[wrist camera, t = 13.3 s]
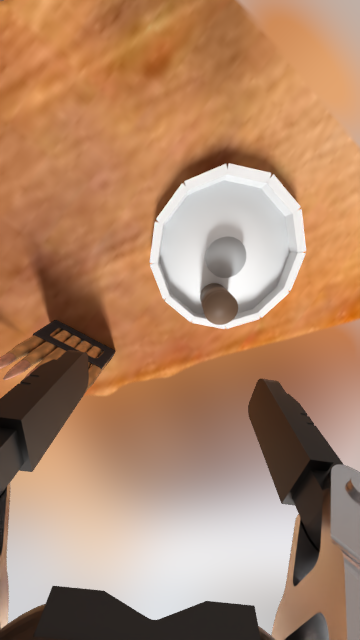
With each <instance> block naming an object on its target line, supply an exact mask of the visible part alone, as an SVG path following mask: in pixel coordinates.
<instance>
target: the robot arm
mask: <svg viewBox="0 0 360 640" xmlns="http://www.w3.org/2000/svg"><path fill="white" fill-rule="evenodd" d="M0 1H3V0H0ZM88 382H89V368H88V354H87V353H86V352H80V351H74V350H68V351H66V352H65V353H64V354H63V355H62V356H61V357H59V358H58V359H57V360H55V359H53V360H51V361H48V362H46V363H44V364H42V365H40V366H39V367H38V368H36V369H35V370H34V371H33V372H32V373H31V374H30V375H29V376H27V377H26V378H25V379H23V380H22V381H21V383H20V384H17V385H16V386H15V387H14V388H13V389H11V390H10V391H9V392H8V393H7V394H6V395H4V396H3V397H2V398H1V399H0V640H360V472H358V471H357V470H355V469H353V468H351V467H349V466H346V465H343V463H342V462H341V461H340V459H339V458H338V456H337V455H336V453H335V452H334V451H333V449H332V448H331V447H330V445H329V444H328V442H327V441H326V440H325V438H324V437H323V435H322V434H321V433H320V431H319V430H318V428H317V427H316V426H314V423H313V422H312V421H311V419H310V417H308V416H307V413H306V412H305V410H304V409H303V408H302V407H301V405H300V404H299V403H298V402H297V401H296V400H295V399H294V398H293V397H291V396H290V395H289V394H287V393H286V392H285V390H284V389H283V388H282V386H281V385H280V383H279V382H278V381H274V380H267V379H259V380H258V382H257V384H256V387H255V389H254V392H253V394H252V397H251V400H250V402H249V406H248V413H249V417H250V420H251V423H252V426H253V428H254V431H255V434H256V436H257V439H258V441H259V444H260V447H261V450H262V452H263V455H264V458H265V460H266V463H267V465H268V468H269V471H270V474H271V476H272V479H273V481H274V484H275V487H276V490H277V492H278V495H279V498H280V500H281V503H282V504H288V505H295V506H296V508H297V510H298V513H299V514H298V515H297V517H296V520H295V527H294V533H293V540H292V547H291V554H290V560H289V567H288V573H287V581H286V586H285V590H284V594H283V597H282V599H281V601H280V604H279V607H278V609H277V613H276V616H275V620H274V624H273V629H272V635H270V634H268V633H267V632H266V631H265V630H263V629H262V628H261V627H259V626H258V623H257V618H256V612H255V607H254V606H251V605H241V604H230V603H221V602H210V601H205V602H203V603H200V604H198V605H195V606H192V607H190V608H188V609H185V610H182V611H180V612H177V613H174V614H172V615H169V616H167V617H164V618H162V619H159V620H151V619H149V618H147V617H145V616H143V615H142V614H140V613H139V612H137V611H135V610H134V609H132V608H131V607H129V606H127V605H126V604H124V603H122V602H121V601H119V600H118V599H116V598H115V597H113V596H111V595H110V594H108V593H106V592H105V591H100V590H99V591H98V590H90V589H80V588H69V587H59V586H53V587H52V589H51V592H50V595H49V597H48V600H47V602H46V604H44V605H41V606H38V607H36V608H34V609H32V610H30V611H28V612H26V613H24V614H22V615H21V616H19V617H18V618H16V619H14V620H13V621H11V622H10V623H8V604H9V585H8V573H7V540H8V522H9V505H10V489H11V485H10V482H11V480H12V479H13V478H14V476H15V475H16V473H17V472H18V471H19V470H20V471H29V472H32V471H33V470H34V468H35V467H36V465H37V464H38V463H39V461H40V460H41V458H42V456H43V455H44V453H45V452H46V450H47V449H48V448H49V446H50V445H51V443H52V442H53V440H54V439H55V437H56V435H57V434H58V433H59V431H60V430H61V428H62V427H63V425H64V423H65V422H66V420H67V419H68V417H69V416H70V414H71V413H72V412H73V410H74V409H75V407H76V406H77V404H78V403H79V401H80V400H81V398H82V397H83V395H84V394H85V392H86V389H87V387H88Z"/></svg>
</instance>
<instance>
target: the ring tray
mask: <svg viewBox="0 0 360 640" xmlns="http://www.w3.org/2000/svg"><path fill="white" fill-rule="evenodd" d="M270 176H271V173H270V172H265V171H261V170H257V169H252V168H248V167H243V166H239V165H235V164H230V163H229V164H228V166H227V165H226V164H224V165H221V166H219V167H217V168H214V169H212V170H209V171H207V172H205V173H202V174H200V175H198V176H195V177H193V178H191V179H188V180H186V181H184V184H183V183H182V184H181V185H180V187H179V188H178V189H177V191H176V192H175V193H174V195H173V196H172V198H171V199H170V200H169V202H168V203H167V205H166V206H165V207H164V209H163V210H162V211H161V213H160V214H159V216H158V217H157V218H156V220H157V221H158V222H155V225H154V233H153V240H152V248H151V256H150V263H153V264H151V265H150V266H151V269H152V271H153V274H154V277H155V279H156V282H157V284H158V287H159V290H160V292H161V295H162V297H163V299H165V300H164V301H165V302H167V303H168V304H169V305H170V306H171V307H173V308H174V309H175V310H176V311H177V312H179V313H180V314H181V315H182V316H183V317H185V318H186V319H187V320H188V321H190V322H191V321H192V323H195V324H200V325H206V326H211V327H216V328H222V329H225V327H226V329H228V328H231V327H234V326H238V325H241V324H244V323H248V322H251V321H255V320H258V319H260V318H259V316H260V317H261V318H262V317H263V316H264V315H265V314H266V313H267V312H269V311H270V310H271V309H272V308H273V307H274V306H275V305H276V304H277V303H278V302H280V301H281V300H282V299H283V298H284V297H285V296H286V295H287V294H288V293H289V292H288V291H287V290H289V291H291V289H292V286H293V284H294V281H295V279H296V276H297V274H298V271H299V269H300V266H301V264H302V262H303V259H304V257H305V254H306V253H302V252H304V251H306V245H305V235H304V226H303V217H302V209H300V210H298V209H299V208H300V205H299V204H298V203H297V202H296V201H295V199H294V198H293V197H292V196H291V195H290V193H289V192H288V191H287V190H286V189H285V187H284V186H283V185H282V184H281V183H280V181H279V180H278V179H277V178H276V177H275V175H274V174H273V175H272V176H271V177H270ZM211 283H218V284H221V285H222V286H224V287H225V288H226V289H227V291H228V292H229V293H230V294H231V295H232V296H233V297H234V298H235V299H236V301H237V303H238V312H237V315H236V316H235V318H234V319H233V320H232V321H231V322H229V323H227V324H224V325H216V324H213V323H211V322H209V321H208V320H207V318H206V317H205V315H204V311H203V308H202V304H201V301H200V294H201V291H202V289H203V288H204V287H205V286H206V285H208V284H211Z"/></svg>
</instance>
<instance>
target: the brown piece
mask: <svg viewBox="0 0 360 640" xmlns="http://www.w3.org/2000/svg"><path fill="white" fill-rule="evenodd" d="M200 301H201V304H202V308H203V311H204V315H205V317H206V318H207V320H208V321H209V322H211V323H213V324H216V325H224V324H227V323H229V322H231V321H232V320H233V319H234V318H235V316H236V315H237V312H238V303H237V301H236V299H235V298H234V297H233V296H232V295H231V294H230V293H229V292H228V291H227V289H226V288H225V287H224V286H222V285H221V284H218V283H211V284H208V285H206V286H205V287H204V288H203V289H202V291H201V294H200Z"/></svg>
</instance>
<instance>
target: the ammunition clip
mask: <svg viewBox="0 0 360 640" xmlns="http://www.w3.org/2000/svg"><path fill="white" fill-rule="evenodd" d="M68 350H74V351H80V352H87V354H88V368H89V382H88V387H87V389H86V391H87V390H88V388H89V387H91V386H92V384H93V383H94V382H95V380H96V379H97V377H98V376H99V374H100V373H101V371H102V370H103V369H104V368H105V366H106V365H107V364H108V362H109V361H110V360H111V359H112V357H113V355H114V353H115V350H113V349H111V348H109V347H107V346H105V345H103V344H101V343H99V342H98V341H96V340H94V339H92V338H90V337H88V336H86V335H84V334H82V333H80V332H78V331H76V330H74V329H73V328H71V327H69V326H67V325H65V324H63V323H61V322H59V321H57V320H54V321H53V322H51V323H49V324H48V325H46V326H45V327H43V328H42V329H40V330H38V331H37V332H35V333H34V334H33V336H32V337H30V338H29V339H27V340H25V341H23V342H22V343H20V344H18V345H17V346H15V347H14V348H13V349H12V350H11V351H9V352H8V353H6V354H5V355H3V356H2V357H0V369H1V368H3V367H5V366H7V365H9V364H11V363H12V362H14V361H16V360H17V359H19V358H21V357H24V356H26V355H27V354H28V355H27V356H26V357H25V358H23V359H22V360H21V361H20V362H18V363H17V364H16V365H14V366H13V367H12V368H11V369H10V370H9V371H8V372H7V373H6V375H5V376H4V378H3V379H4V380H7V379H10V378H13V377H15V376H17V375H19V374H21V373H22V372H24V371H25V370H27V369H28V368H30V367H31V366H33V365H34V364H36V363H38V362H40V361H41V360H42V361H41V362H40V363H39V364H38V365H37V366H36V367H35V368H34V369H33V370H32V371H31V372H29V373H28V374H27V376H29V375H30V374H31V373H32V372H33V371H34V370H35V369H36V368H38V367H39V366H40V365H42V364H44V363H46V362H48V361H51V360H53V359H55V360H57V359H58V358H59V357H61V356H62V355H63V354H64V353H65V352H66V351H68ZM97 357H98V358H97ZM91 364H93V365H92V366H91ZM90 366H91V367H90ZM27 376H26V377H27ZM26 377H25V378H26ZM25 378H24V379H25Z"/></svg>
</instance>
